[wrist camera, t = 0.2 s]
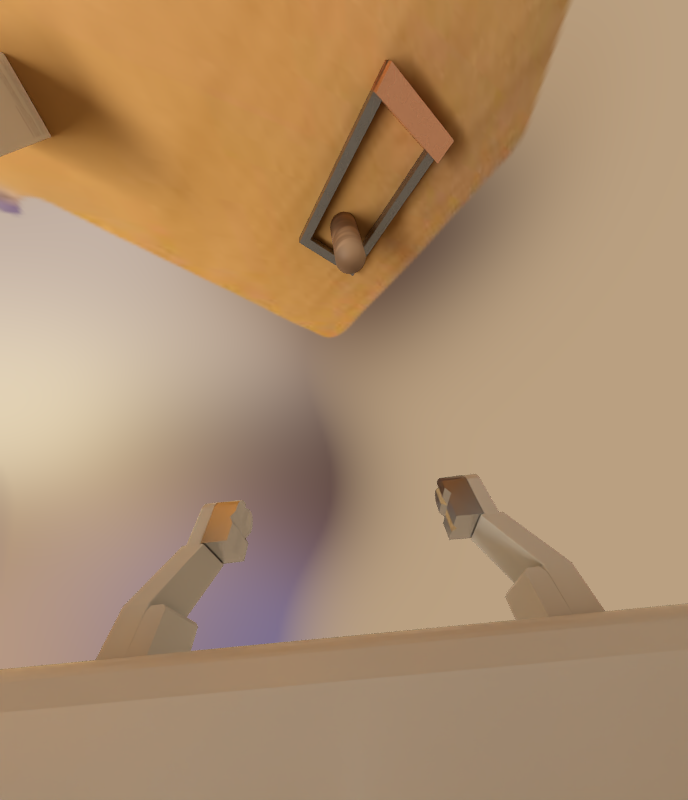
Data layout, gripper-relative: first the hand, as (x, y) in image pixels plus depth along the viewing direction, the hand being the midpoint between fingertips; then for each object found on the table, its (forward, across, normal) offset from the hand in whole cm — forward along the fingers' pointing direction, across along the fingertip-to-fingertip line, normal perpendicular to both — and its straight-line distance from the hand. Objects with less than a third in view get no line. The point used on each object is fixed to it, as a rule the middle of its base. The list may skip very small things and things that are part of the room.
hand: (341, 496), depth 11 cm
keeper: (+52, -3, -6) cm, 53 cm away
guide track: (+51, -8, -11) cm, 53 cm away
